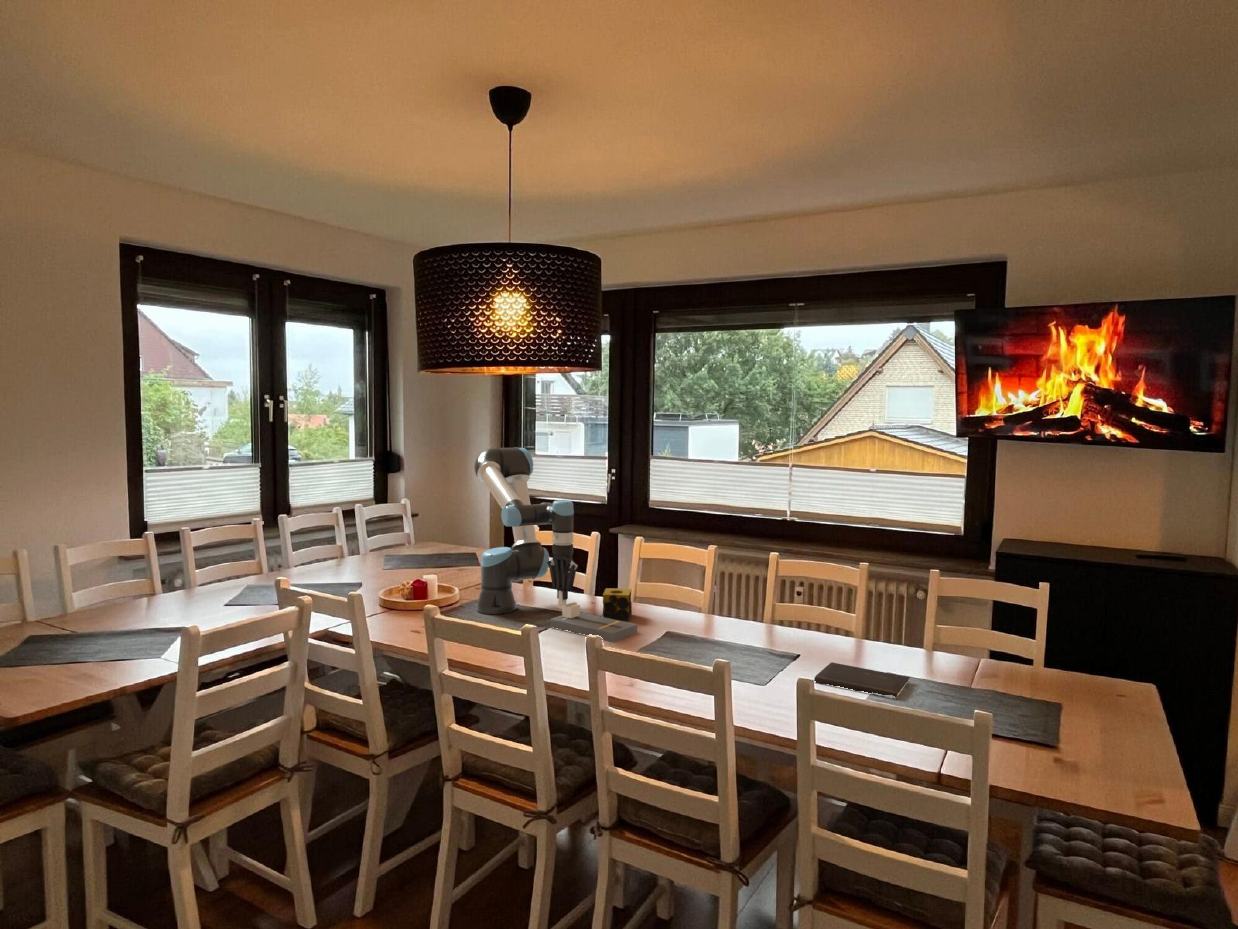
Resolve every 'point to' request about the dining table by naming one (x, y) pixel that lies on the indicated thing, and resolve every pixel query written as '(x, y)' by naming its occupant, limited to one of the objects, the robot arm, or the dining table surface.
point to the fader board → (595, 626)
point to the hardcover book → (861, 679)
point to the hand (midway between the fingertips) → (562, 608)
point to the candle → (617, 604)
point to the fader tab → (571, 610)
